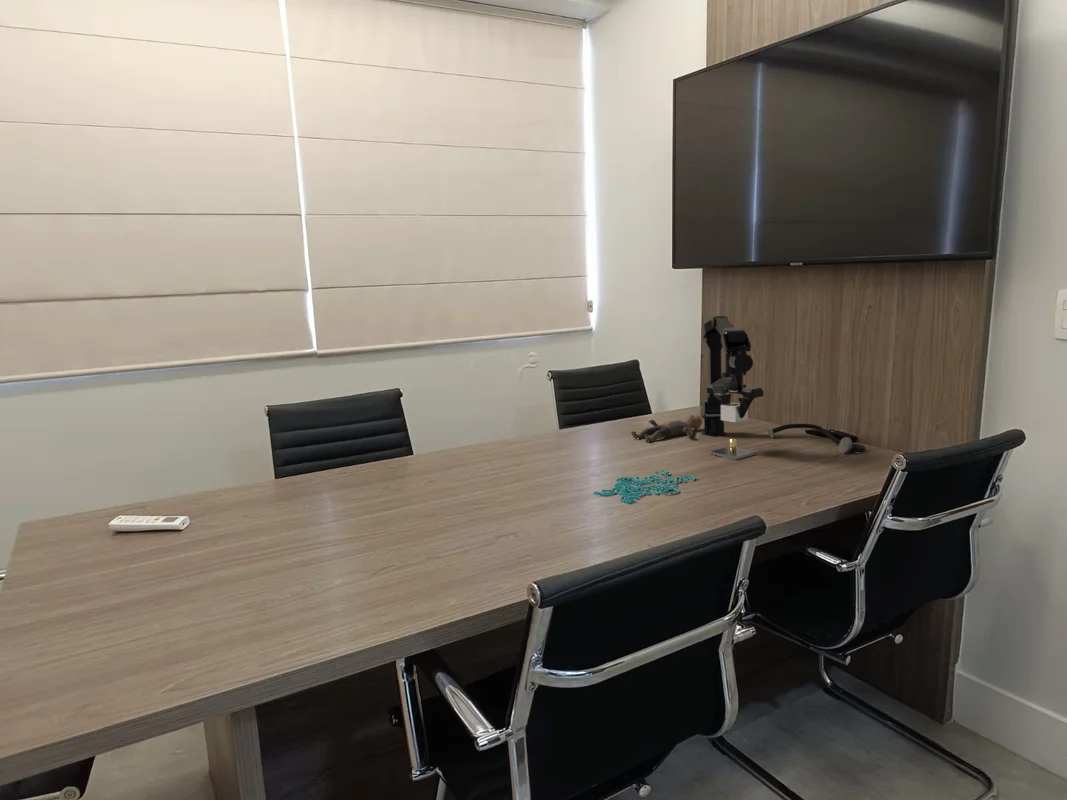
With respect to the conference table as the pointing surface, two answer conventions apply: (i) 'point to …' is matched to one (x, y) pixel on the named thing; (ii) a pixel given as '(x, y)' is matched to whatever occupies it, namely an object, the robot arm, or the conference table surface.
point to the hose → (844, 444)
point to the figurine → (670, 428)
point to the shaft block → (733, 451)
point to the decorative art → (632, 496)
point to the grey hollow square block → (732, 412)
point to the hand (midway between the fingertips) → (734, 416)
